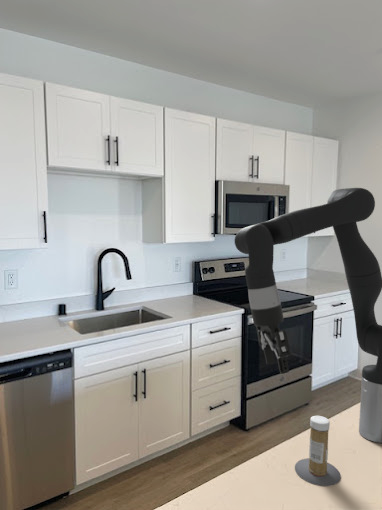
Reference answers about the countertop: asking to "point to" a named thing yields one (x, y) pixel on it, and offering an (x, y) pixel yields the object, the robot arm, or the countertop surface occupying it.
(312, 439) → the sprinkles bottle
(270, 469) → the countertop surface
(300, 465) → the coaster
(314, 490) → the countertop surface
